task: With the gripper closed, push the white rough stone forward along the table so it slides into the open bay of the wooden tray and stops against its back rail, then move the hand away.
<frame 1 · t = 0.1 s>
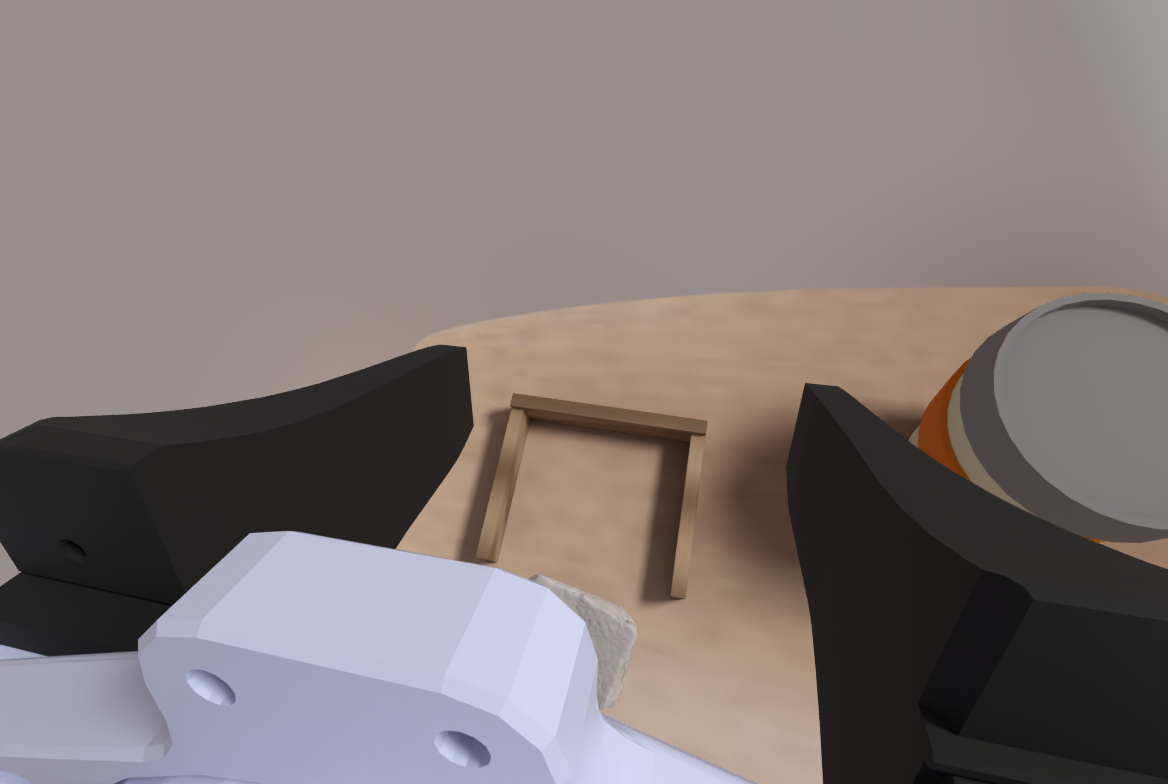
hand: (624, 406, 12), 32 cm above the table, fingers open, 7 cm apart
white rough stone: (571, 631, 41), on the table
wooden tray: (594, 504, 43), on the table
reusable coffee cup: (967, 471, 41), on the table
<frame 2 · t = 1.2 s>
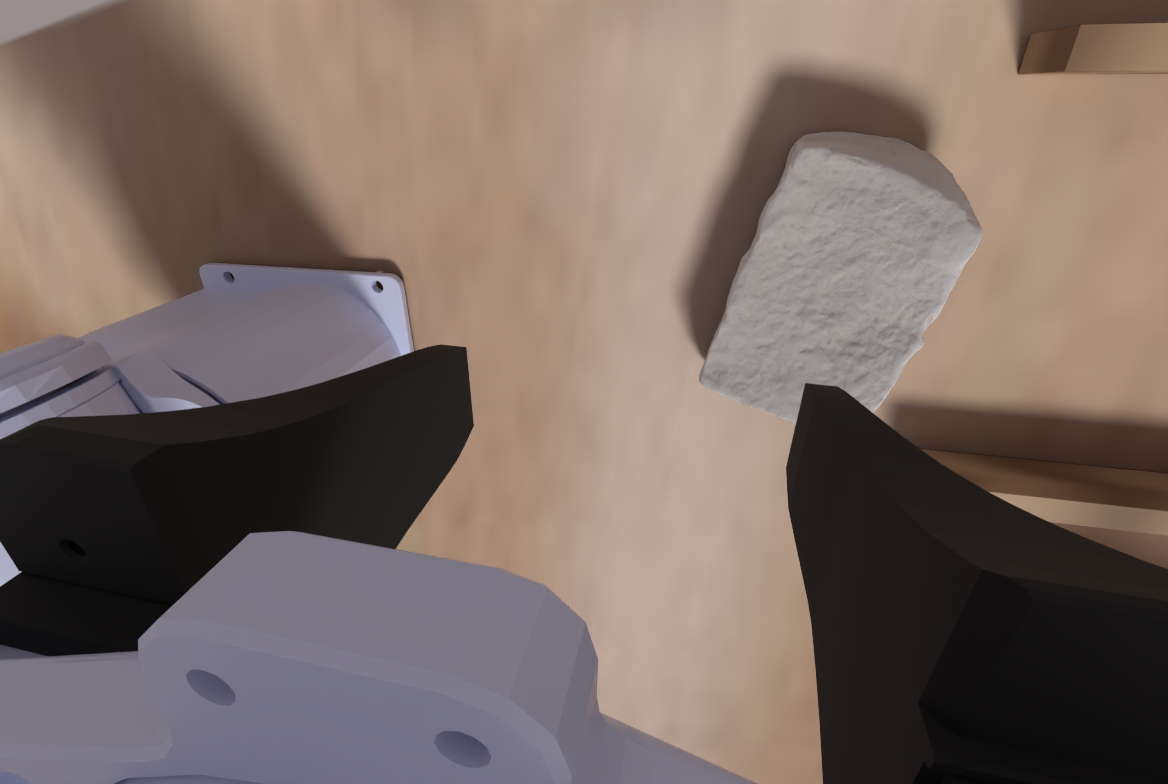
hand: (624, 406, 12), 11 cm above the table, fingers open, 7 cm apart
white rough stone: (817, 274, 21), on the table
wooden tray: (1132, 299, 19), on the table
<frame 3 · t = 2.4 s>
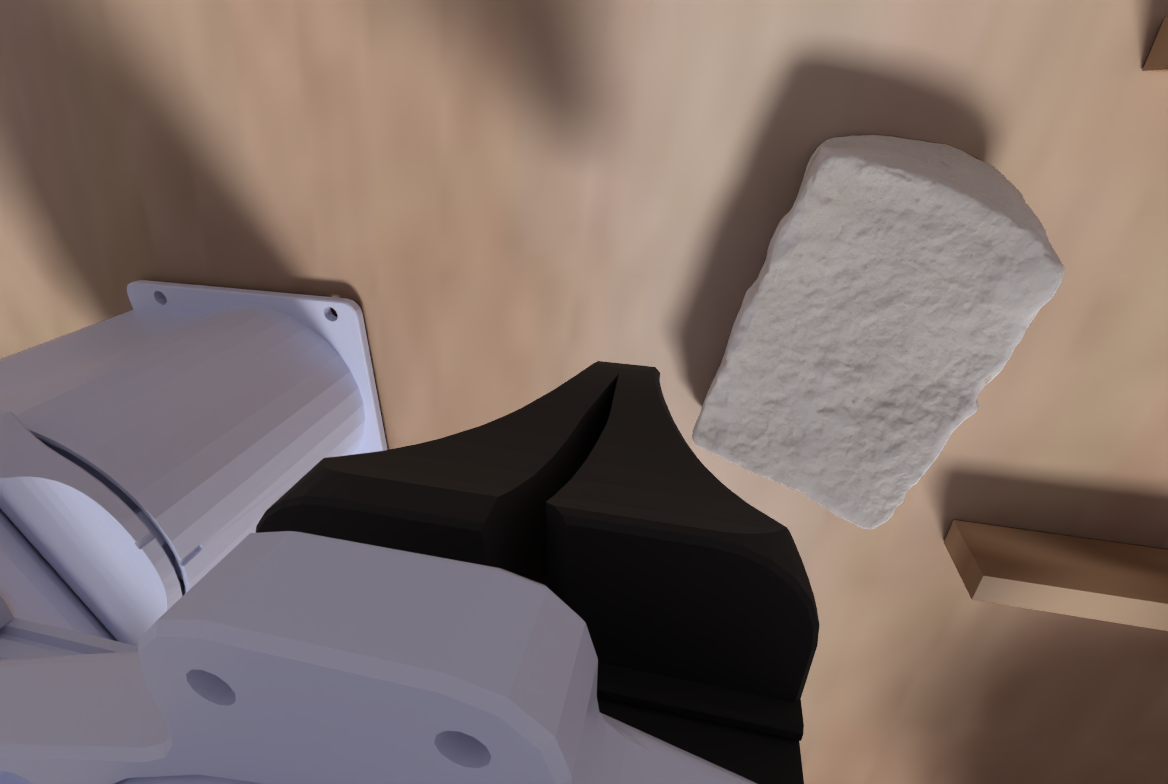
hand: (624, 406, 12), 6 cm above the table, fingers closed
white rough stone: (840, 309, 17), on the table
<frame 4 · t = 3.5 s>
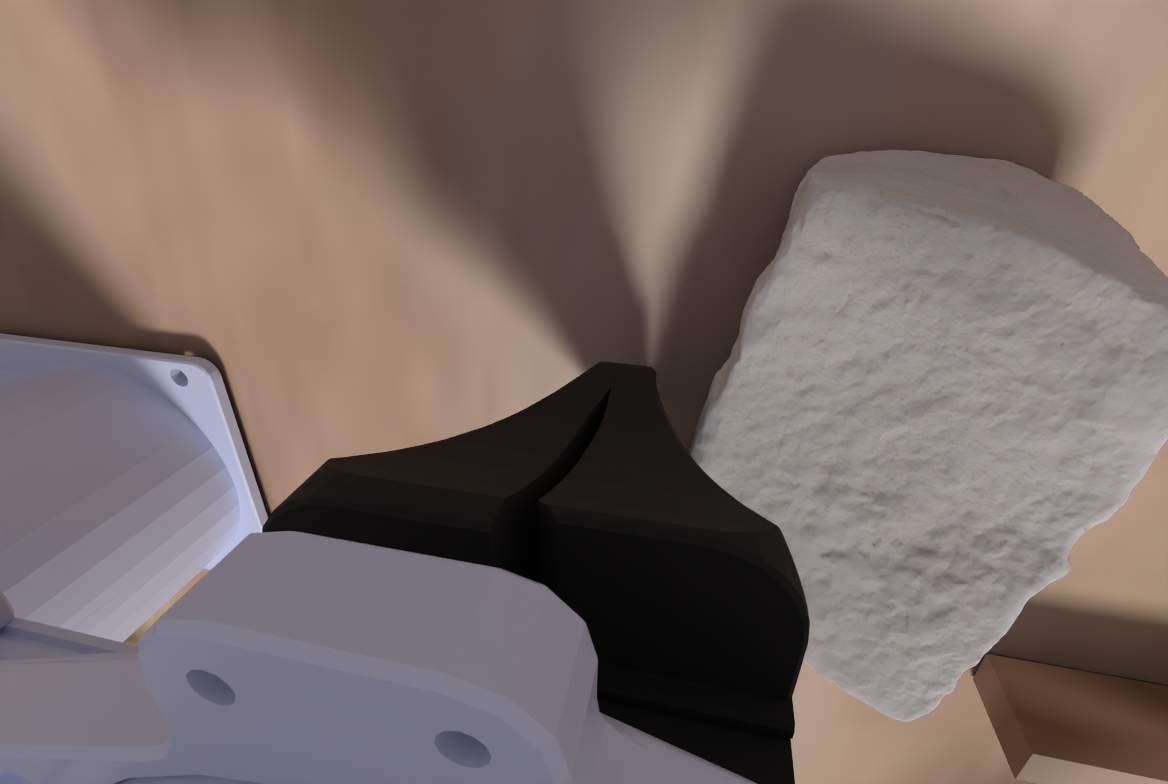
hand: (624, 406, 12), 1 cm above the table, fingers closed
white rough stone: (850, 388, 12), on the table, touching gripper
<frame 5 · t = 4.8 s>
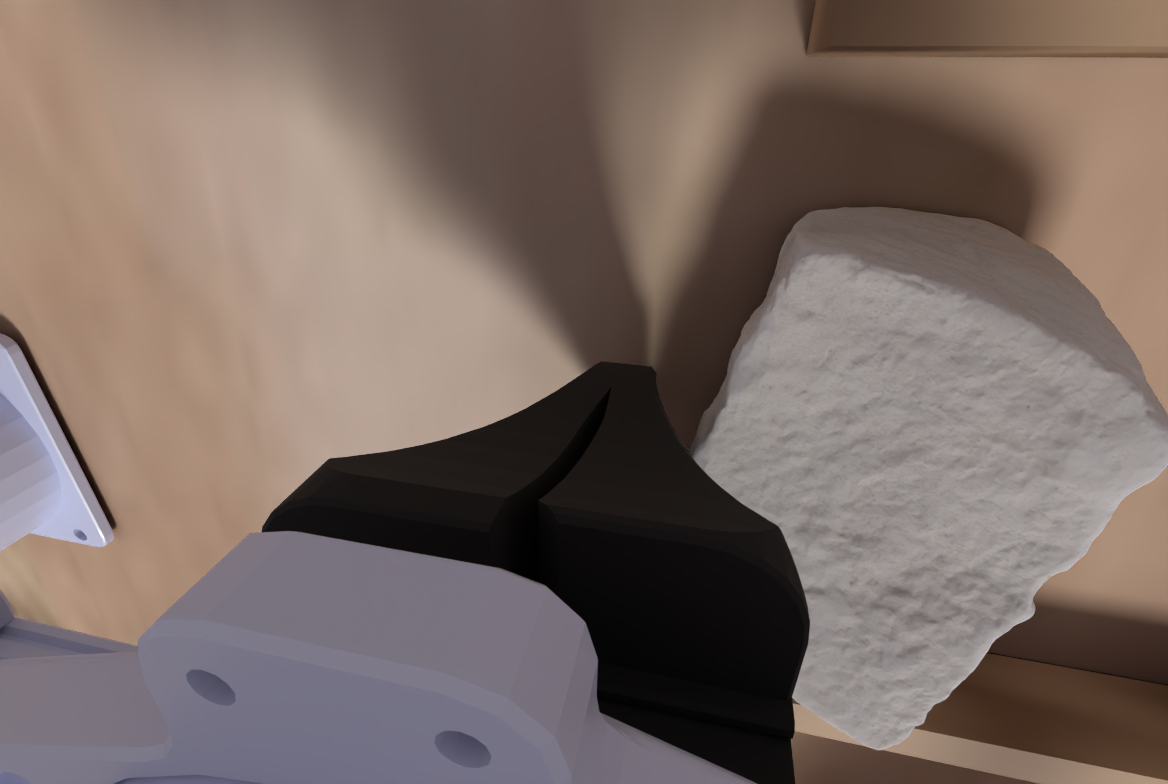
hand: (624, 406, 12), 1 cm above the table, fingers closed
white rough stone: (833, 425, 13), on the table, touching gripper
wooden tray: (1025, 429, 11), on the table
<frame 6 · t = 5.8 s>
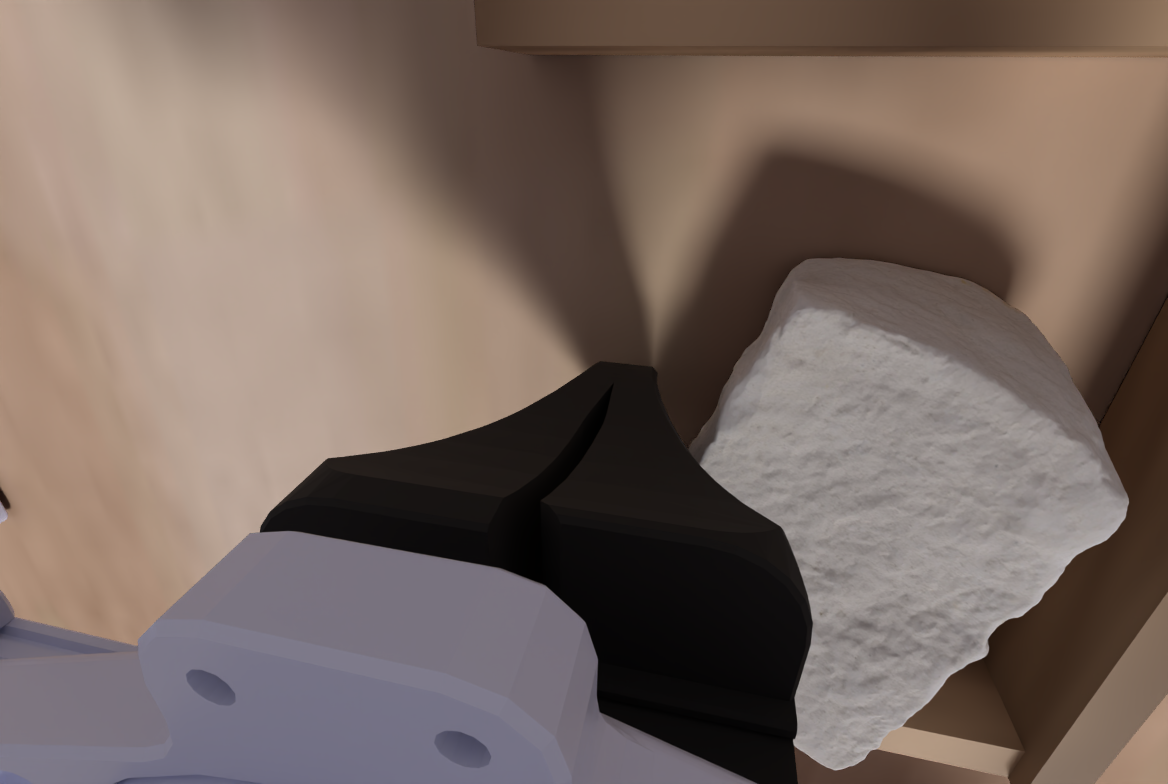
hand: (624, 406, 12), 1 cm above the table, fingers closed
white rough stone: (813, 457, 13), on the table, touching gripper
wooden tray: (780, 401, 12), on the table
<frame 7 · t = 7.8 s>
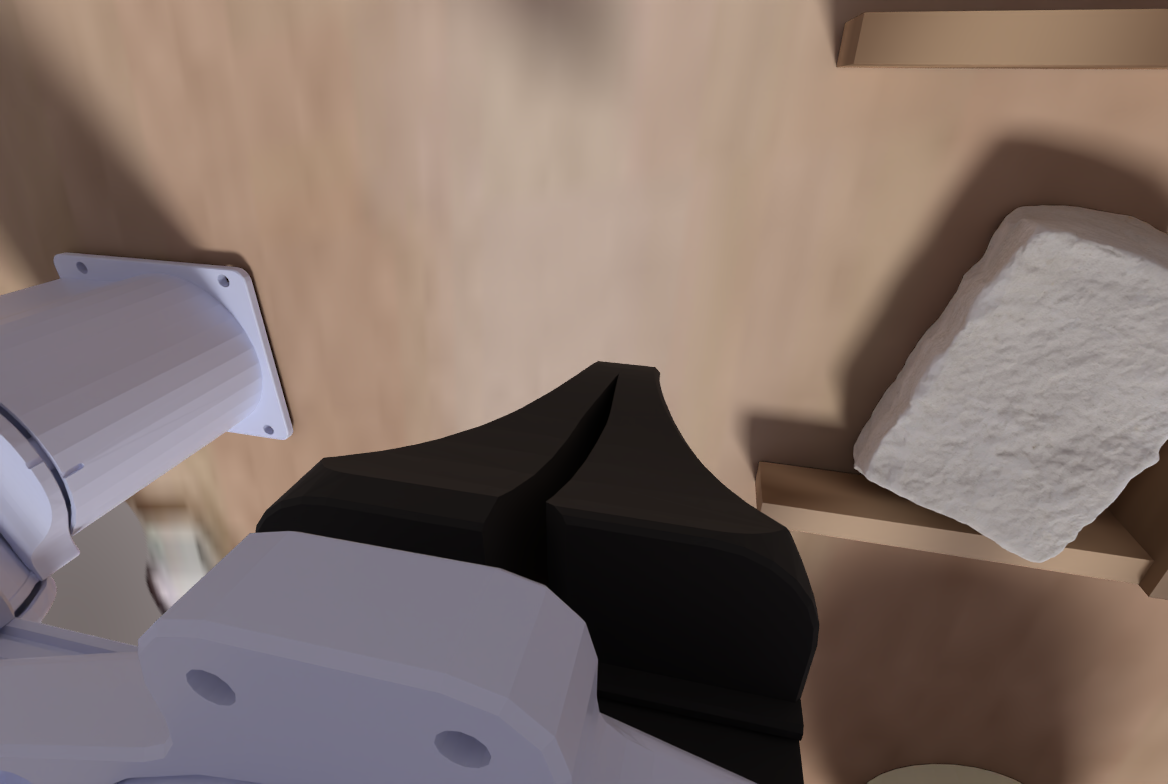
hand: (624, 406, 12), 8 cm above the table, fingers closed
white rough stone: (1000, 356, 18), on the table
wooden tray: (978, 312, 17), on the table
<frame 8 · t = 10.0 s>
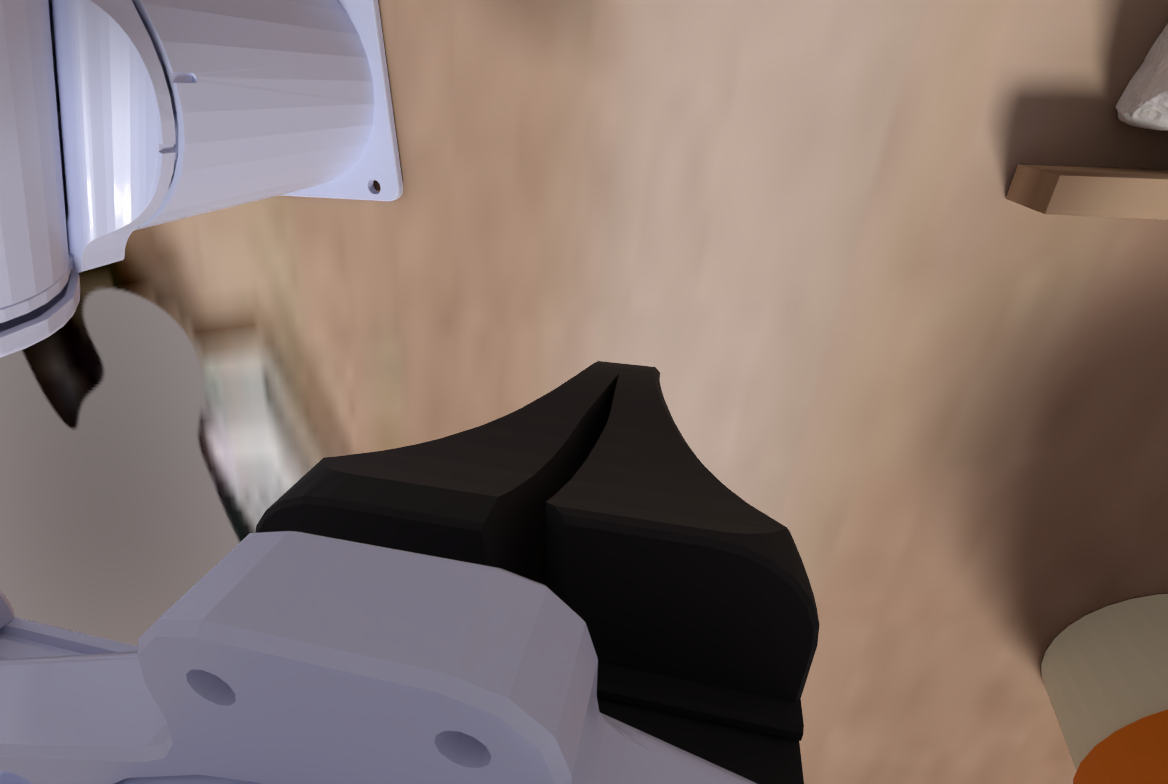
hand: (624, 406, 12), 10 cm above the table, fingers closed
reusable coffee cup: (1159, 663, 25), on the table
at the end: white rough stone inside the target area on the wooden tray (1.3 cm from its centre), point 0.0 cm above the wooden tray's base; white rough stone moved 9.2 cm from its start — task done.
